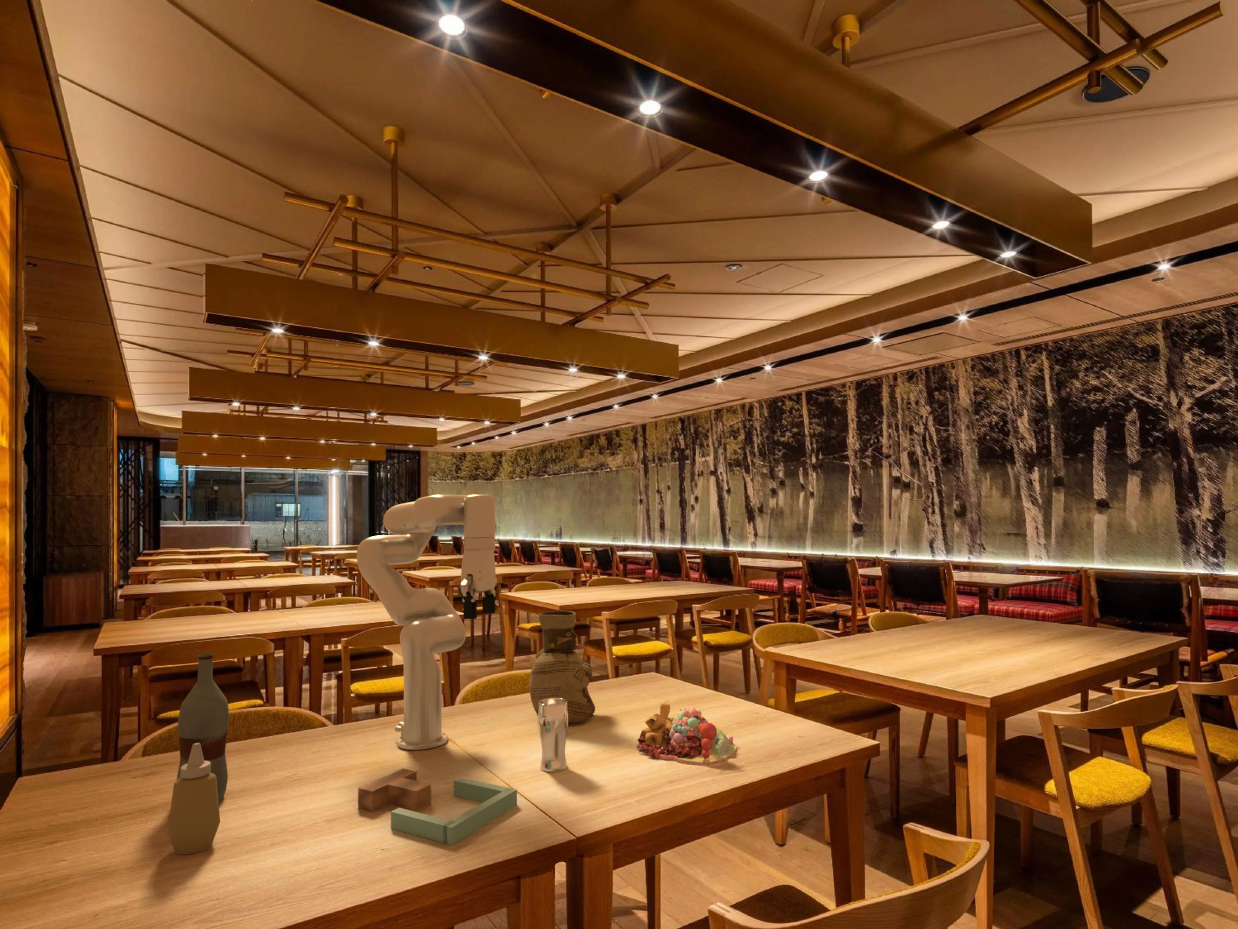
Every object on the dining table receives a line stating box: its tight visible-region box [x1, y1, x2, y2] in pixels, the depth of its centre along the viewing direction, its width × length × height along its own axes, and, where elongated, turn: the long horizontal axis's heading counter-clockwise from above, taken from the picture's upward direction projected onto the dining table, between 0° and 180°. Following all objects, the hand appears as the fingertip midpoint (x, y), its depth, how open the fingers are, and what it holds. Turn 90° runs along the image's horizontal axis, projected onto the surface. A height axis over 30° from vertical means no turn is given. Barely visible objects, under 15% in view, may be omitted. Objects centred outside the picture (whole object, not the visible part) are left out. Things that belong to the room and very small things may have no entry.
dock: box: [390, 776, 518, 846], centre depth 134 cm, size 15×19×3 cm
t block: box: [357, 768, 432, 813], centre depth 141 cm, size 12×12×4 cm
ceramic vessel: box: [528, 610, 596, 726], centre depth 199 cm, size 19×21×30 cm
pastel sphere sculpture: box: [636, 702, 737, 766], centre depth 172 cm, size 25×24×9 cm
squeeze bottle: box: [167, 743, 221, 855], centre depth 123 cm, size 8×8×18 cm
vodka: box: [175, 652, 230, 802], centre depth 144 cm, size 9×9×30 cm
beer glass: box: [537, 698, 569, 773], centre depth 159 cm, size 7×7×15 cm
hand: (479, 616), depth 167 cm, fingers open, 9 cm apart
